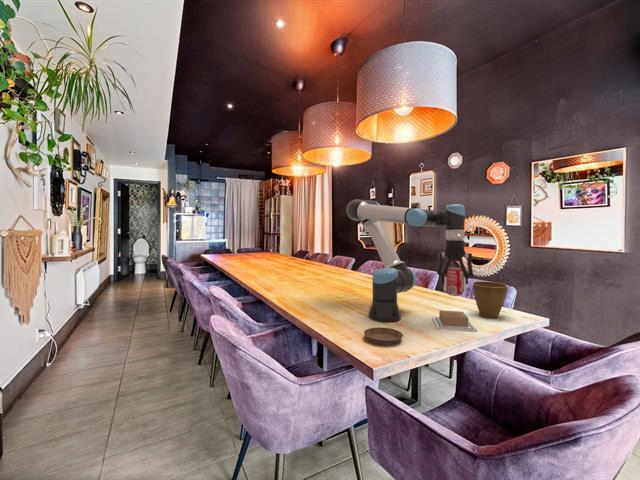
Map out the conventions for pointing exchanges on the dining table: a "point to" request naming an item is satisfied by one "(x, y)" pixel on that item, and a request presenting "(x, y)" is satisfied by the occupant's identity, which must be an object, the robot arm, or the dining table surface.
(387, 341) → the saucer
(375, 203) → the robot arm
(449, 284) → the soda can
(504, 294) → the plant pot
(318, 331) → the dining table surface
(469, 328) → the base
